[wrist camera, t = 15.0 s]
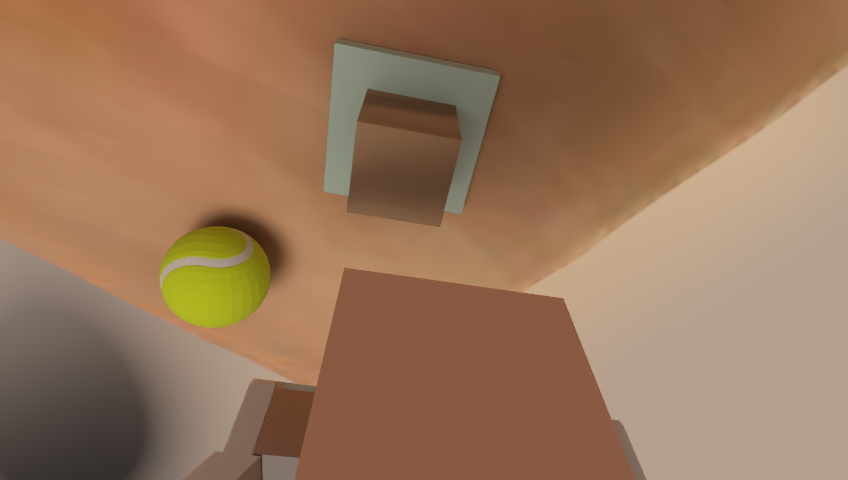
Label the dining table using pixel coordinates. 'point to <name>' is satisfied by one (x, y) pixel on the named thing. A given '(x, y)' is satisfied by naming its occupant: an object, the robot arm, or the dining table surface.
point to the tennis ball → (214, 276)
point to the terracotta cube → (455, 388)
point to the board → (411, 78)
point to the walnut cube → (403, 158)
